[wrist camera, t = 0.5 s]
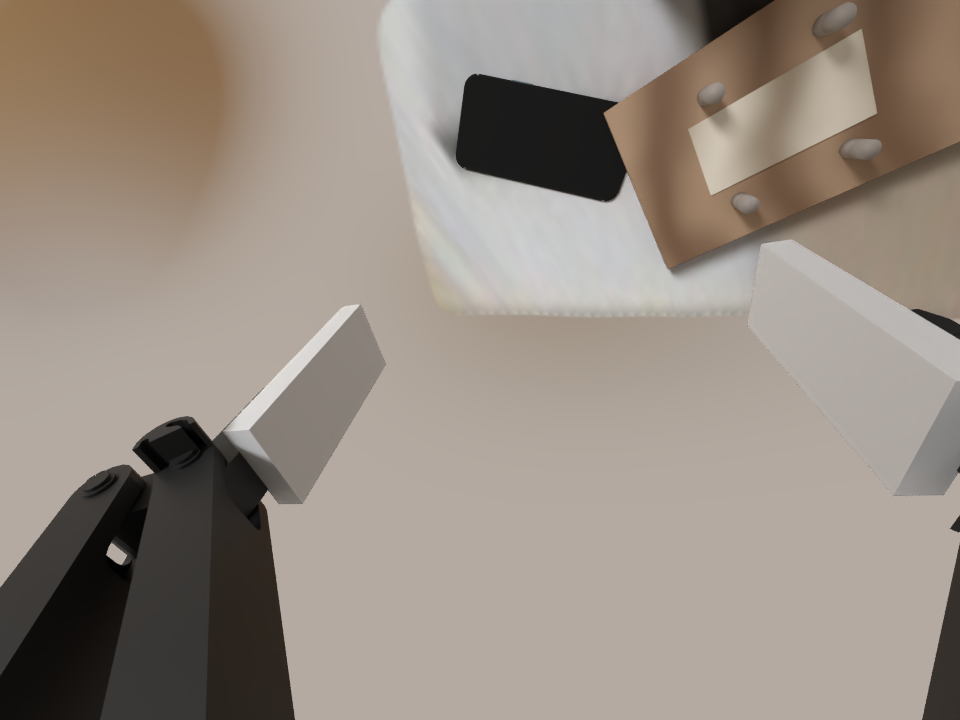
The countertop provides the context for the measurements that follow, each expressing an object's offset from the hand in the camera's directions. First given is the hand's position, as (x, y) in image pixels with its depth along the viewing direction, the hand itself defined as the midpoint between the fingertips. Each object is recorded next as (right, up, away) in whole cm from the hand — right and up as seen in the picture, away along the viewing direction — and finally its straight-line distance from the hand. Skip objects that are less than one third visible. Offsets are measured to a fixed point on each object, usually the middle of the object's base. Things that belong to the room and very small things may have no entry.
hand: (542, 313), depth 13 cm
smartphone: (+3, +18, +21) cm, 27 cm away
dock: (+20, +16, +16) cm, 30 cm away
